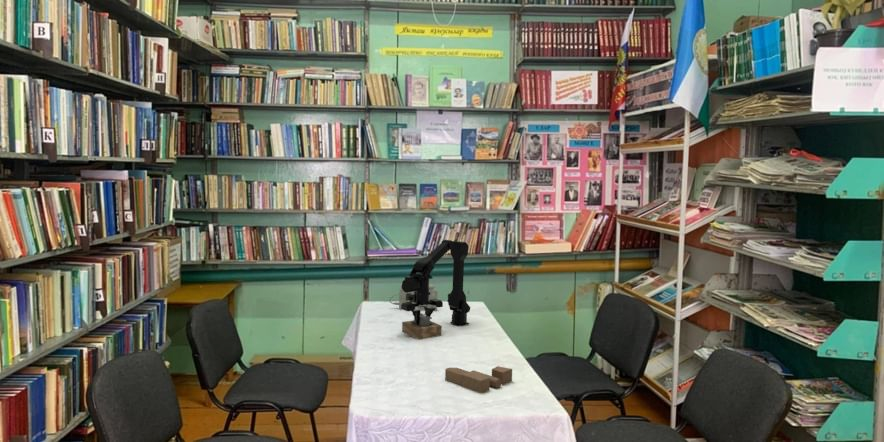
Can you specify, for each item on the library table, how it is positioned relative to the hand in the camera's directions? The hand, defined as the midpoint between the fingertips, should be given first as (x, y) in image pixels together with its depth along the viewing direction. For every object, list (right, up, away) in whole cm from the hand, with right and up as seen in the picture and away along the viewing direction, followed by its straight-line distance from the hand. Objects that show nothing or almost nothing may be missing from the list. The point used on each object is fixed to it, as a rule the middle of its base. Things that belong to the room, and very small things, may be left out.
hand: (421, 323), depth 271 cm
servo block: (0, -1, 0) cm, 1 cm away
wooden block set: (+22, -11, -58) cm, 63 cm away
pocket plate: (0, -5, 0) cm, 5 cm away
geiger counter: (-6, -1, +45) cm, 46 cm away
